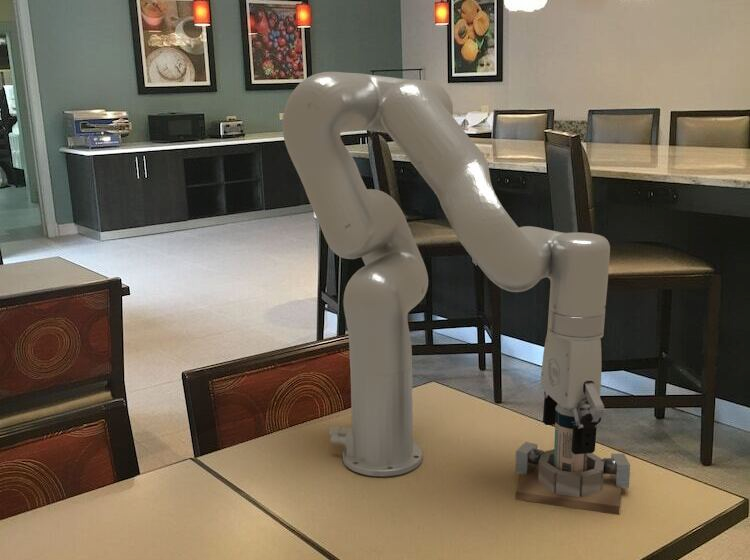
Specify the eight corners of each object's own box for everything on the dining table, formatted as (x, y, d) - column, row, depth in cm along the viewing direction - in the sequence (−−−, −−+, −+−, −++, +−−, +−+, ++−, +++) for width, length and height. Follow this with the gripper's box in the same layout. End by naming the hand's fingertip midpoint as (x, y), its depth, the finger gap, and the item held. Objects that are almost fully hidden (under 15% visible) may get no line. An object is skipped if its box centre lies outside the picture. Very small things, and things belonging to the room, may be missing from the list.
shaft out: (605, 487, 112) (607, 464, 112) (600, 475, 116) (601, 453, 115) (628, 487, 112) (630, 464, 111) (622, 475, 116) (624, 453, 115)
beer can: (593, 485, 113) (597, 406, 110) (564, 491, 112) (567, 411, 109) (574, 470, 117) (578, 394, 115) (546, 475, 116) (549, 399, 113)
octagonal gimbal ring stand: (515, 499, 112) (516, 472, 111) (527, 465, 122) (528, 440, 121) (619, 514, 107) (620, 486, 106) (622, 477, 118) (623, 451, 117)
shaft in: (545, 468, 118) (546, 446, 118) (535, 477, 116) (536, 455, 115) (525, 462, 120) (525, 441, 119) (515, 472, 117) (516, 450, 116)
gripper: (526, 307, 117) (520, 415, 121) (577, 343, 100) (568, 467, 104) (574, 305, 118) (566, 412, 122) (632, 340, 102) (621, 463, 106)
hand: (567, 437), depth 113 cm, fingers open, 9 cm apart
